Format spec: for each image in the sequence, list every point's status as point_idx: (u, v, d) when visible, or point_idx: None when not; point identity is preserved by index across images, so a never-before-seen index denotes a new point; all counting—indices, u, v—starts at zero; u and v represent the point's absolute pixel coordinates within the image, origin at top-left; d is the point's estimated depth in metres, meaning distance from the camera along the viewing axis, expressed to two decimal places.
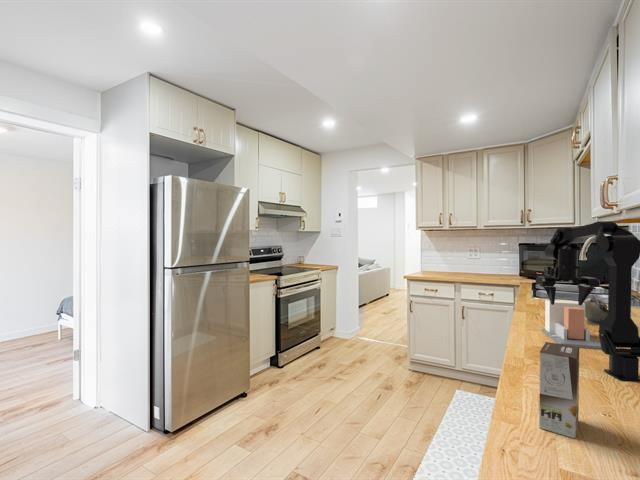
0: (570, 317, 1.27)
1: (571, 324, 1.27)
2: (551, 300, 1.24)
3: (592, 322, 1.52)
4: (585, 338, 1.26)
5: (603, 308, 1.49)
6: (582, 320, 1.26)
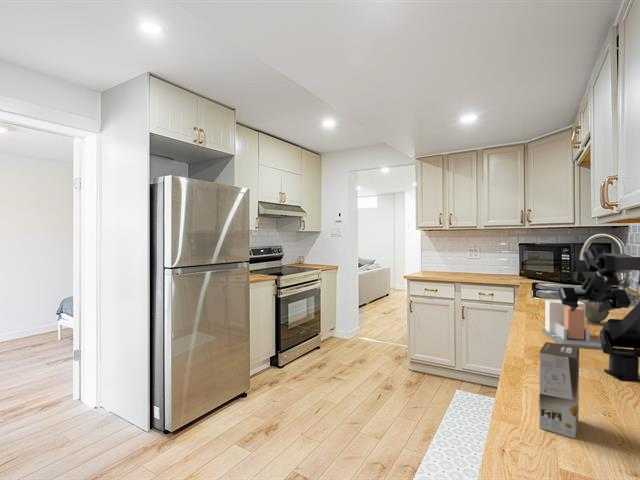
0: (570, 317, 1.27)
1: (571, 324, 1.27)
2: (571, 309, 1.19)
3: (592, 322, 1.52)
4: (585, 338, 1.26)
5: None
6: (582, 320, 1.26)
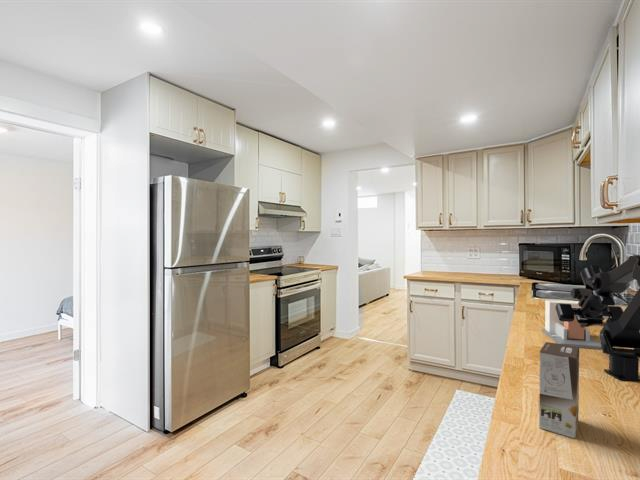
0: None
1: (571, 324, 1.27)
2: (580, 325, 1.21)
3: None
4: (585, 338, 1.26)
5: None
6: None
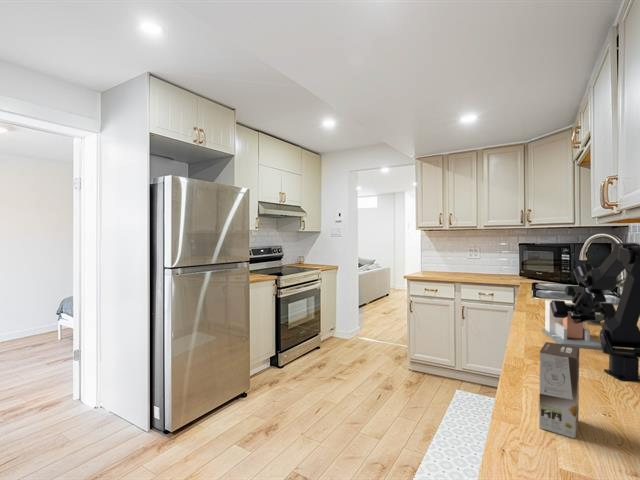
0: (569, 317, 1.28)
1: (570, 323, 1.28)
2: (574, 321, 1.26)
3: (592, 322, 1.52)
4: (585, 338, 1.26)
5: None
6: None
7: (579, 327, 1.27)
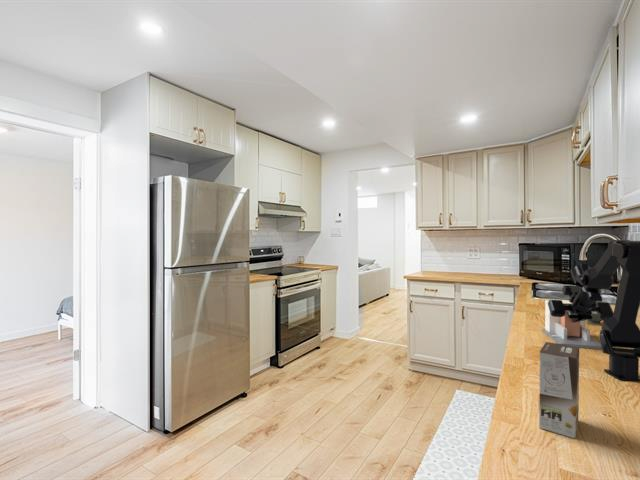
0: (566, 315, 1.30)
1: (568, 321, 1.30)
2: (571, 320, 1.28)
3: (592, 322, 1.52)
4: (585, 338, 1.26)
5: None
6: None
7: (576, 325, 1.30)
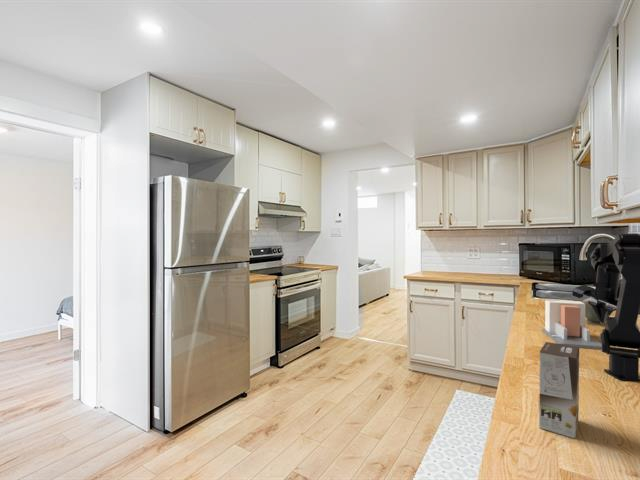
0: (566, 315, 1.30)
1: (568, 321, 1.30)
2: None
3: (592, 322, 1.52)
4: (585, 338, 1.26)
5: None
6: (578, 318, 1.29)
7: (576, 325, 1.30)
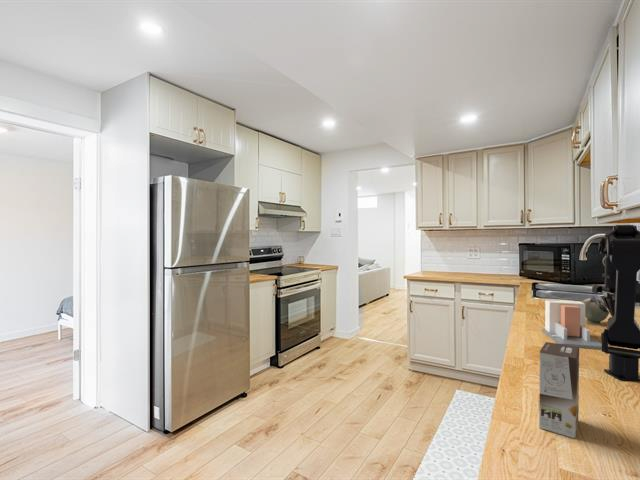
0: (566, 315, 1.30)
1: (568, 321, 1.30)
2: None
3: (592, 322, 1.52)
4: (585, 338, 1.26)
5: (603, 308, 1.49)
6: (578, 318, 1.29)
7: (576, 325, 1.30)
